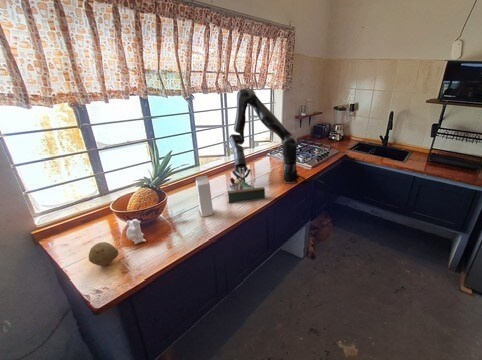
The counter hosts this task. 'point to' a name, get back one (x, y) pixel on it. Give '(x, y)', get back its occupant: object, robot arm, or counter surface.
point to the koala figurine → (134, 231)
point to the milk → (204, 195)
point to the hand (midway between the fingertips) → (243, 183)
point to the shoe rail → (246, 194)
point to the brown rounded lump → (102, 254)
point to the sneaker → (238, 184)
